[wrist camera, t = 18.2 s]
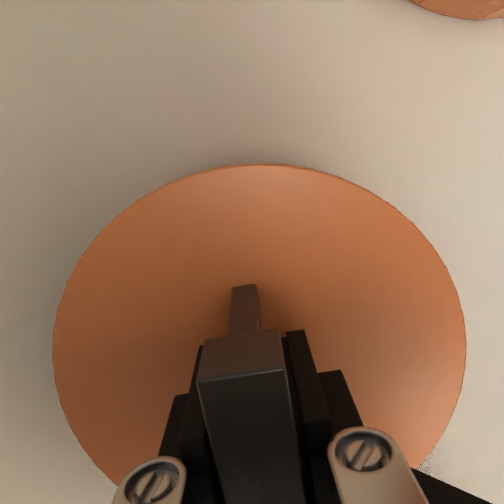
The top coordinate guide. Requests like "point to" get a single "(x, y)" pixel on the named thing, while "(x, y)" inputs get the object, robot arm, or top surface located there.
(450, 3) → the pot
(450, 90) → the top surface
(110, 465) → the lid
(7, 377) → the top surface
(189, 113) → the top surface
